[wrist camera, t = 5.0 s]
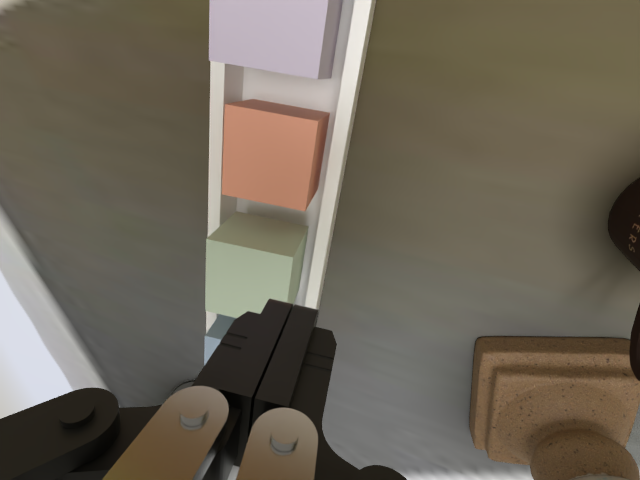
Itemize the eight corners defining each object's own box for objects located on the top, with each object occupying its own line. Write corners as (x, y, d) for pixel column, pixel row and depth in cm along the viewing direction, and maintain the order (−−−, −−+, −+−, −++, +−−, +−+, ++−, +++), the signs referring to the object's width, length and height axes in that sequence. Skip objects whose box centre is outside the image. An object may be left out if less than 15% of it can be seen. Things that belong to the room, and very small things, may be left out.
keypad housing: (311, 351, 32) (301, 386, 28) (225, 330, 33) (205, 362, 29) (383, -41, 20) (383, -66, 16) (243, -61, 20) (213, -91, 17)
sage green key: (299, 289, 26) (283, 328, 22) (232, 274, 26) (205, 310, 22) (308, 226, 24) (293, 257, 20) (236, 211, 24) (206, 238, 20)
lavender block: (331, 78, 20) (317, 79, 16) (243, 63, 20) (208, 60, 16) (348, -33, 18) (336, -64, 14) (249, -48, 18) (211, -82, 14)
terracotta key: (318, 188, 25) (305, 211, 21) (248, 174, 25) (221, 194, 21) (329, 112, 22) (318, 121, 18) (252, 98, 23) (224, 104, 19)
